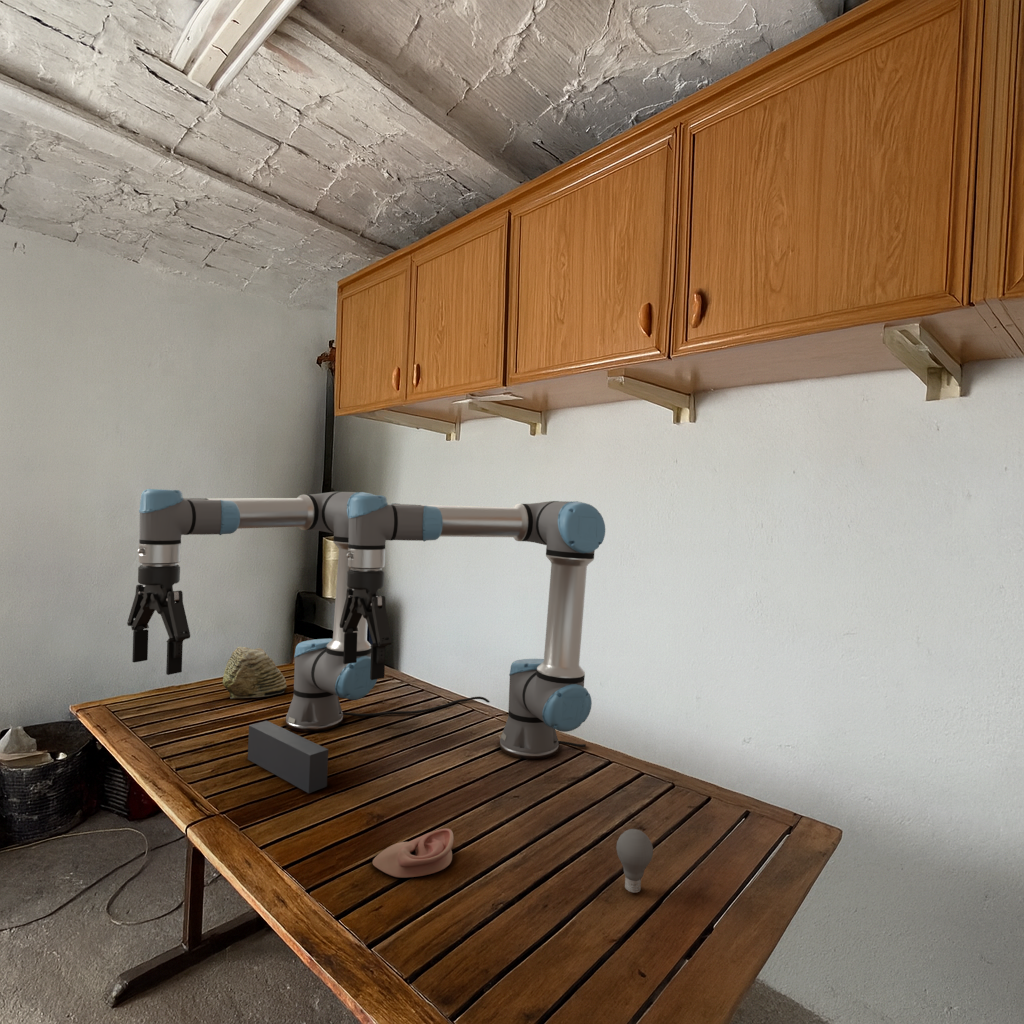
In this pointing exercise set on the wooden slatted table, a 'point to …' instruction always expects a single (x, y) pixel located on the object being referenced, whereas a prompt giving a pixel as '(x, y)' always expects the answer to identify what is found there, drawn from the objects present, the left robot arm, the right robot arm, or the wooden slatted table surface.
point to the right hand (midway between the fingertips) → (363, 670)
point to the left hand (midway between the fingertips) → (156, 667)
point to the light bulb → (634, 857)
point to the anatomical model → (417, 855)
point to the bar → (288, 756)
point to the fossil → (252, 674)
